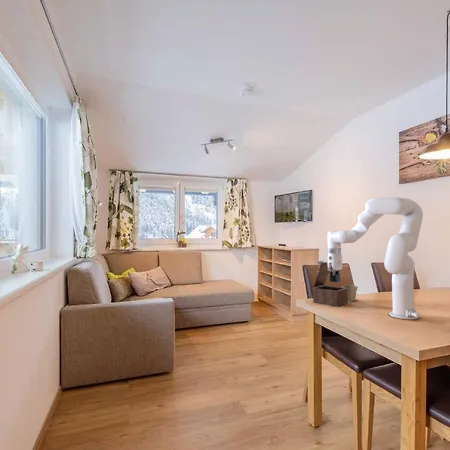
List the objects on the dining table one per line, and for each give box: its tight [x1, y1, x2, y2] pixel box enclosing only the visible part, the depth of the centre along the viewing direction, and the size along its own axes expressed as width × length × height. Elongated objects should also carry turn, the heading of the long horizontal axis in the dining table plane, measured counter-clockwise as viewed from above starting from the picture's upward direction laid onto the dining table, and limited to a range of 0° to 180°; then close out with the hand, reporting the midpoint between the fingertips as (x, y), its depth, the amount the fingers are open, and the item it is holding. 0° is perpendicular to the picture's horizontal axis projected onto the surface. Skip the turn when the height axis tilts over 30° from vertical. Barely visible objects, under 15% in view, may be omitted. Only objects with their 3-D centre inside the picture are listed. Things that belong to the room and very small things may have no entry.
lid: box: [312, 260, 329, 288], centre depth 191 cm, size 17×13×5 cm
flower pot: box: [341, 284, 359, 302], centre depth 192 cm, size 9×9×9 cm
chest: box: [312, 284, 349, 307], centre depth 185 cm, size 16×13×9 cm
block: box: [334, 273, 341, 283], centre depth 183 cm, size 4×4×4 cm
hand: (334, 281), depth 183 cm, fingers closed on block, 4 cm apart
